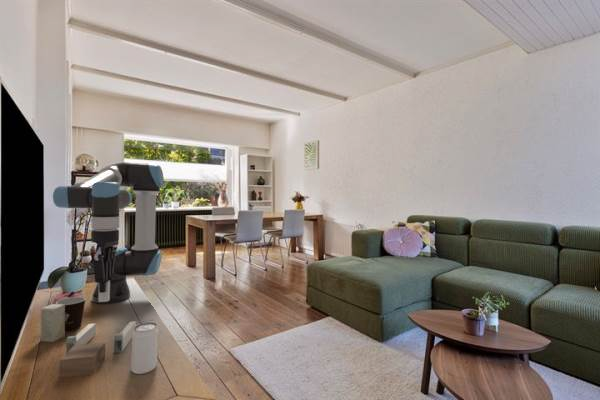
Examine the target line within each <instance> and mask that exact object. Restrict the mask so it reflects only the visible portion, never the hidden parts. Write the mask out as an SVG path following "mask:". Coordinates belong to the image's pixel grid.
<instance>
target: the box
mask: <svg viewBox="0 0 600 400" xmlns="http://www.w3.org/2000/svg"><path fill="white" fill-rule="evenodd" d="M65 335H66V332H65V305H61V304H54V303H51V304H49V305H46V306H43V307H41V308H40V342H46V343H47V342H49V343H51V342H52V343H54V342H56V341H58V340H61V339H63V338H64V337H65Z"/></svg>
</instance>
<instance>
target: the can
mask: <svg viewBox="0 0 600 400" xmlns="http://www.w3.org/2000/svg"><path fill="white" fill-rule="evenodd" d="M134 329H135V330H134V332H133V336H132V339H131V341H132V343H131V367H130V368H131V372H132V373H133V374H134V375H135V374H136V375H144V374H148V373H150V372H152V371H153V370H155V369H156V367H157V365H158V364H157V363H158V342H159V341H158V340H159V339H158V338H159V337H158V336H159V330H158V327H157V324H156V323H155V322H145V323H144V322H142V323H140V324H136V327H135V328H134Z"/></svg>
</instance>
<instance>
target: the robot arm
mask: <svg viewBox="0 0 600 400" xmlns="http://www.w3.org/2000/svg"><path fill="white" fill-rule="evenodd" d="M164 178H165V177H164V173H163V170H162V167H161V165H159V164H157V163H148V162H147V163H144V162H143V163H141V162H129V161H128V162H126V161H125V162H117V163H113V164H110V165H108V166H105V167H103V168H101V169H100V170H99V171H98V173H96V174H95V175H93V176H90V177H88V178H86V179H85V180H82V181H80V182H79V183H77V184H74V185H72V186H71V185H64V186H63V185H60V186H59V185H58V186H57V187H56V188H55V189H54V190H53V193H52V200H53V203H54V205H55V207H58V208H61V209H63V208H64V209H69V210H70V209H91V218H90V219H89V221H90V222H91V229H92V231H91V232H90V238H91V239H90V241H91V243H93V244H94V243H95V244H96V247H95V253H94V254H93V253H92V254H91V259H92V260H91V261H92V264H93V272H94V274H93V275H94V282H95V284H96V285H95V288H94V290H93V293H92V295H91V302H92V303H96V304H112V303H118V302H121V301H122V302H123V301H126V300H127V299H129V297H130V296H131V290H130V286H129V285H128V282H127V277H128V276H129V277H132V276H134V277H135V276H144V277H145V276H153V275H157V273H158V272H159V270H160V266H161V263H162V259H163V257H162V254H163V251H161V250H159V246H158V245H157V244H156V217H157V214H156V213H157V209H156V208H157V195H158V194H159V193H160V192H161V189H163V188H164V184H165V181H164ZM124 187H126V188H128V187H129V188H132V192H133V193H134V194H135V223H134V225H135V227H134V229H135V230H134V231H135V233H134V234H135V235H134V245H133V246H132V247H131V248H130V250H129V249H128V248H127V247H117V246H114V243H115V242H118V241H119V240H120V239H119V238H120V230H119V228H120V210H123V209H125V208H126V207H128V206H129V205H130V204H132V200H133V197H132V193H131V192H130V191H129V190H128V189H125V188H124ZM128 250H129V251H128Z"/></svg>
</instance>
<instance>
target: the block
mask: <svg viewBox="0 0 600 400" xmlns="http://www.w3.org/2000/svg"><path fill="white" fill-rule="evenodd" d="M105 359H106V342H95V343H87V344H81V345H74V346H73V347H72V348H71V349H70V350H69V351H68V352H67V353H65V354H64V355H63V356H62V357H61V358H60V359H59V374H58V375H59V377H58V378H68V377H77V376H87V375H94V374H95V373H96V371H97V370H98V369H99V367H100V366H101V365H102V364H103V362H104V360H105Z"/></svg>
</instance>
